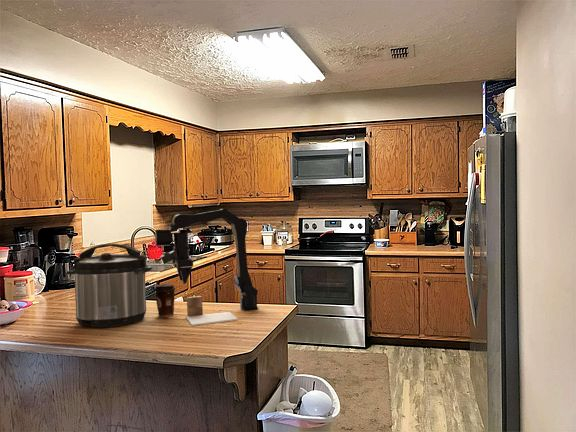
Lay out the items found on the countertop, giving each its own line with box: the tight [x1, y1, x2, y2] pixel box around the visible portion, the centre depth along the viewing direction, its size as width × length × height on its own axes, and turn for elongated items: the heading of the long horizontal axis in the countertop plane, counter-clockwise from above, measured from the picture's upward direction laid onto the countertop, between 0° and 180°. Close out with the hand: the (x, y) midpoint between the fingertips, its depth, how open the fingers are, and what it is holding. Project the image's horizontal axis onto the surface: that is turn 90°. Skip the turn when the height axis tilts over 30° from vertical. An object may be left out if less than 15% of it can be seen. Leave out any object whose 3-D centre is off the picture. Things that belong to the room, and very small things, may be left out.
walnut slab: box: [186, 295, 204, 317], centre depth 198 cm, size 6×2×8 cm, turn 111°
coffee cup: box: [153, 283, 176, 318], centre depth 202 cm, size 9×8×13 cm
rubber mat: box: [185, 311, 239, 327], centre depth 192 cm, size 18×14×1 cm
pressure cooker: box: [66, 243, 153, 328], centre depth 196 cm, size 30×28×32 cm
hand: (183, 281), depth 198 cm, fingers open, 9 cm apart
